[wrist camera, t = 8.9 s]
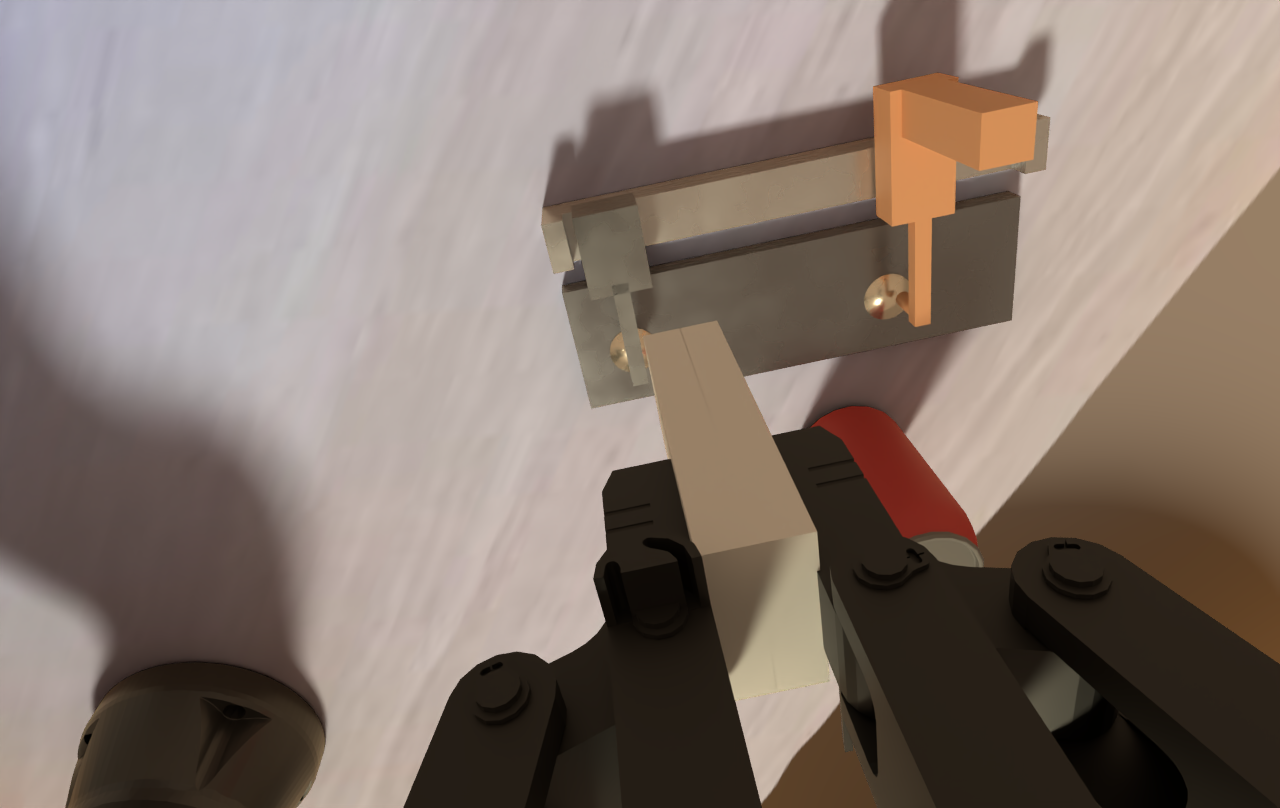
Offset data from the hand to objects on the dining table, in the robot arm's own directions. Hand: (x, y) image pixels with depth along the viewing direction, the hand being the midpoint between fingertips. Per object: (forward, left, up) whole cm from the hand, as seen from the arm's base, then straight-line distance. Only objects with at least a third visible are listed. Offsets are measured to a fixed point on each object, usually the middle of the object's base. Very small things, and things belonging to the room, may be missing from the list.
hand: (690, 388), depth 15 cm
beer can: (+11, -20, -25) cm, 33 cm away
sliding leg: (+14, -5, -23) cm, 27 cm away
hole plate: (+8, -9, -24) cm, 27 cm away
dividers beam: (+8, -6, -24) cm, 26 cm away
